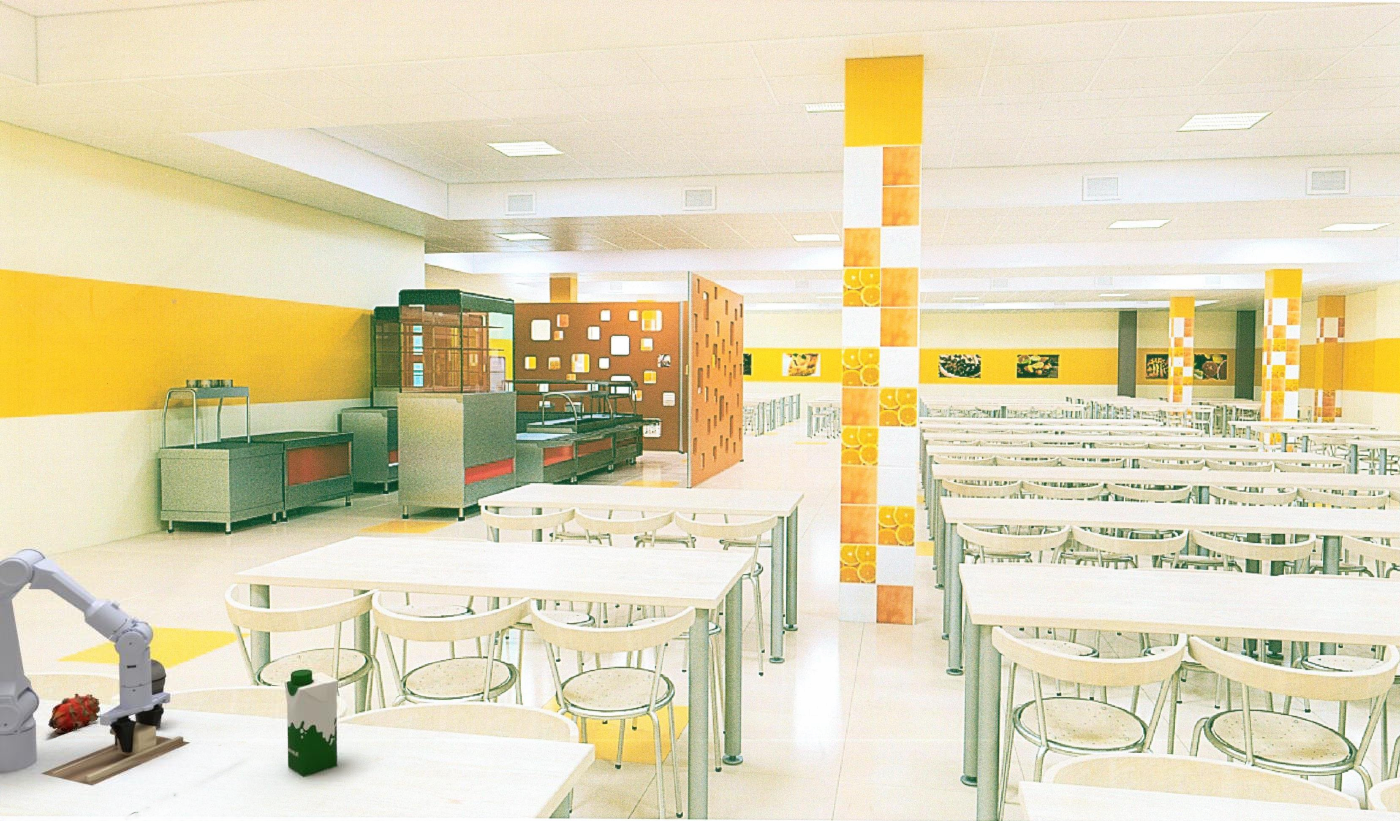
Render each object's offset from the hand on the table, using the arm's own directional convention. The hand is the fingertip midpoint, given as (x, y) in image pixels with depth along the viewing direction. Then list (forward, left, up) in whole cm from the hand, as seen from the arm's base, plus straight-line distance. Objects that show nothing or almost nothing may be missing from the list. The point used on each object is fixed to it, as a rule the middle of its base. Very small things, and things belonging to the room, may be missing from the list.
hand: (137, 747), depth 199 cm
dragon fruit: (-26, +6, -3) cm, 27 cm away
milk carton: (+36, +11, -3) cm, 38 cm away
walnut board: (-1, -3, -2) cm, 4 cm away
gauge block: (-2, 0, -1) cm, 2 cm away
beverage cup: (-12, +13, -3) cm, 18 cm away
